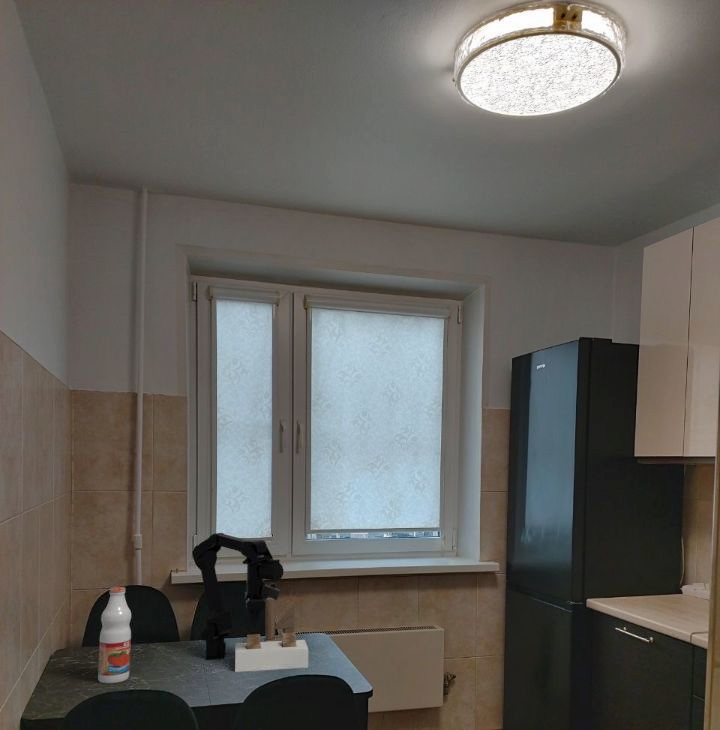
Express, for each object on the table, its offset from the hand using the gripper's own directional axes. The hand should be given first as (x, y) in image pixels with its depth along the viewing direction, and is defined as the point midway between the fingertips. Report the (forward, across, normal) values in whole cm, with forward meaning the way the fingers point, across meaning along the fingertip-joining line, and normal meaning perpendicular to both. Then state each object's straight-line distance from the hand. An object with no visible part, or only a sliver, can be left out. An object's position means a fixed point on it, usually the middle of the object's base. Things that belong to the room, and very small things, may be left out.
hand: (254, 625), depth 230 cm
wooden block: (+13, +20, -10) cm, 26 cm away
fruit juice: (+13, -6, +44) cm, 47 cm away
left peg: (+9, 0, 0) cm, 9 cm away
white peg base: (+13, 0, -6) cm, 14 cm away
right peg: (+9, 0, -12) cm, 15 cm away
